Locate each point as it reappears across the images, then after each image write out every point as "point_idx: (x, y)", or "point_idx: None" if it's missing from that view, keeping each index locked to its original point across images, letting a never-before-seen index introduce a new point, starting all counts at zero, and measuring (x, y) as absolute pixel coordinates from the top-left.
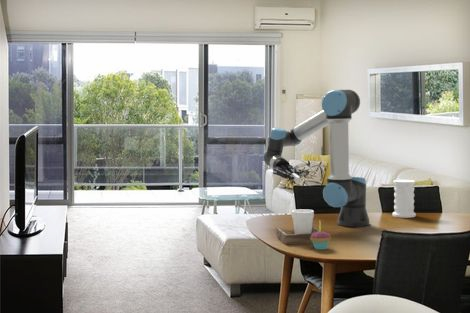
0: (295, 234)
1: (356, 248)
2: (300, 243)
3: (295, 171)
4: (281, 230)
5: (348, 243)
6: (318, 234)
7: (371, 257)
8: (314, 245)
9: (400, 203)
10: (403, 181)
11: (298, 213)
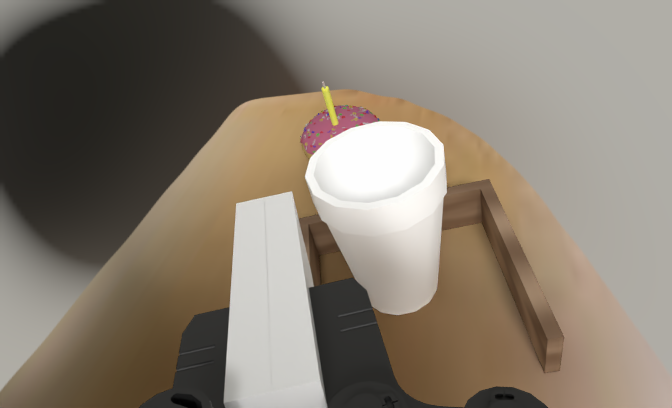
0: None
1: (227, 179)
2: None
3: (178, 391)
4: (519, 273)
5: (216, 240)
6: (350, 106)
7: (237, 107)
8: None
9: None
10: None
11: (408, 126)
